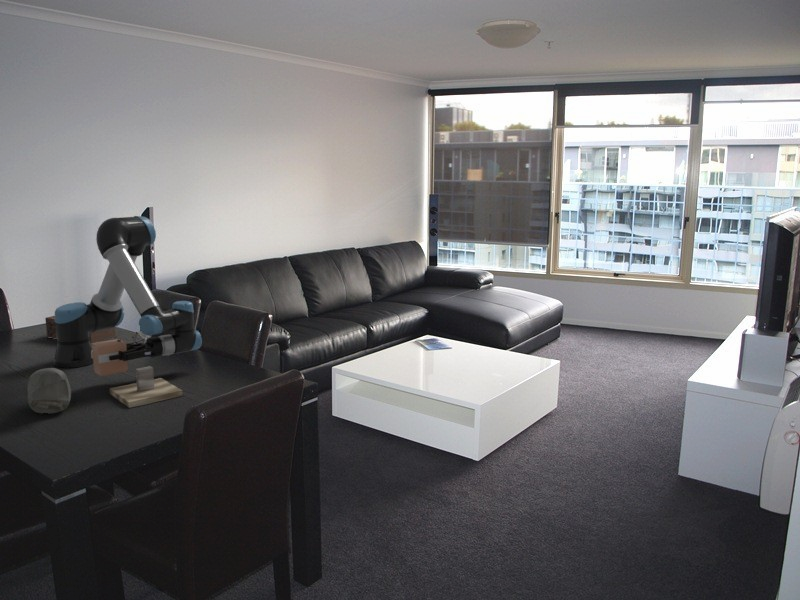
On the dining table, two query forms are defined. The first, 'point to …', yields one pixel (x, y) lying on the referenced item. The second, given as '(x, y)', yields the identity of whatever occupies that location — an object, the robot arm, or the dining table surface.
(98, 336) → the tissue box cover
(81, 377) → the dining table surface
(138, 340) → the game die
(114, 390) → the base
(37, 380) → the decorative stone
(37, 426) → the dining table surface
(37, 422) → the dining table surface
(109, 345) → the notched tan block
